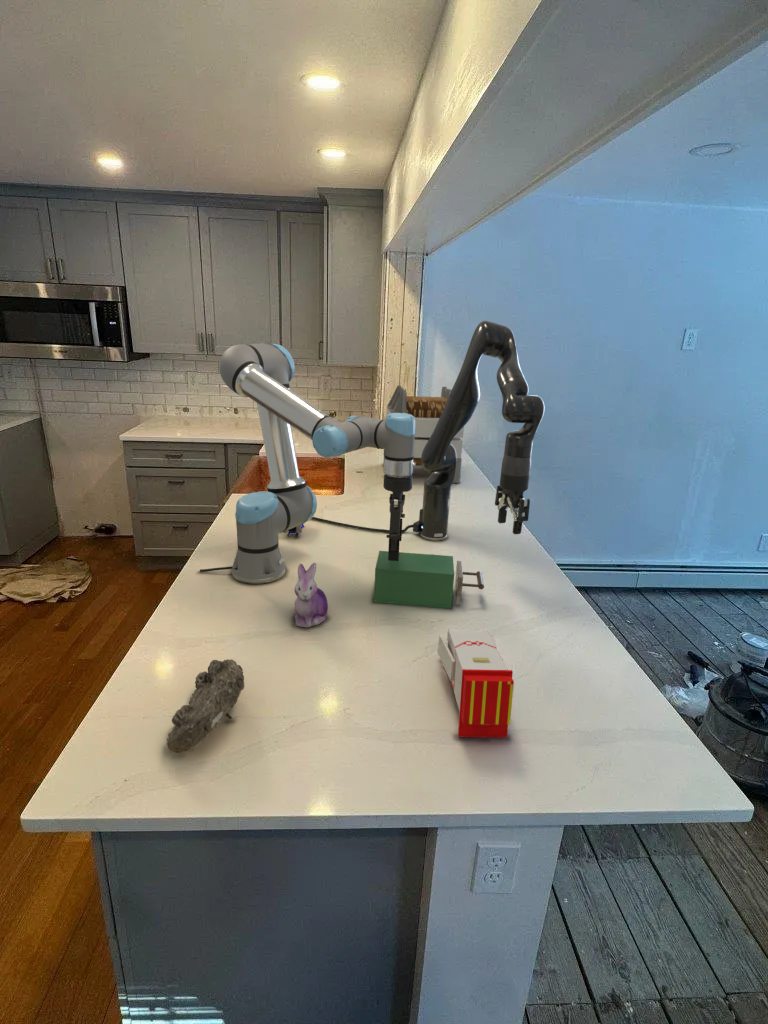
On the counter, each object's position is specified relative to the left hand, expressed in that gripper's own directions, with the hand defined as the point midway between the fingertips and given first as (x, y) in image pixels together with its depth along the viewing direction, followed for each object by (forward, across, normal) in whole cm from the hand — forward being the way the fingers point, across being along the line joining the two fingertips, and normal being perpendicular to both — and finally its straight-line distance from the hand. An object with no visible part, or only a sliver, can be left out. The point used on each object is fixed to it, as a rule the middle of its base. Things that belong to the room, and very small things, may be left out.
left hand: (395, 550), depth 153 cm
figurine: (+13, -17, +20) cm, 29 cm away
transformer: (+13, +125, -4) cm, 126 cm away
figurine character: (+13, +40, +37) cm, 56 cm away
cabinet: (+13, 0, -6) cm, 14 cm away
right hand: (-6, +7, -31) cm, 32 cm away
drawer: (+12, 0, -12) cm, 17 cm away
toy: (+14, -40, -19) cm, 47 cm away
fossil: (+13, -55, +31) cm, 64 cm away
